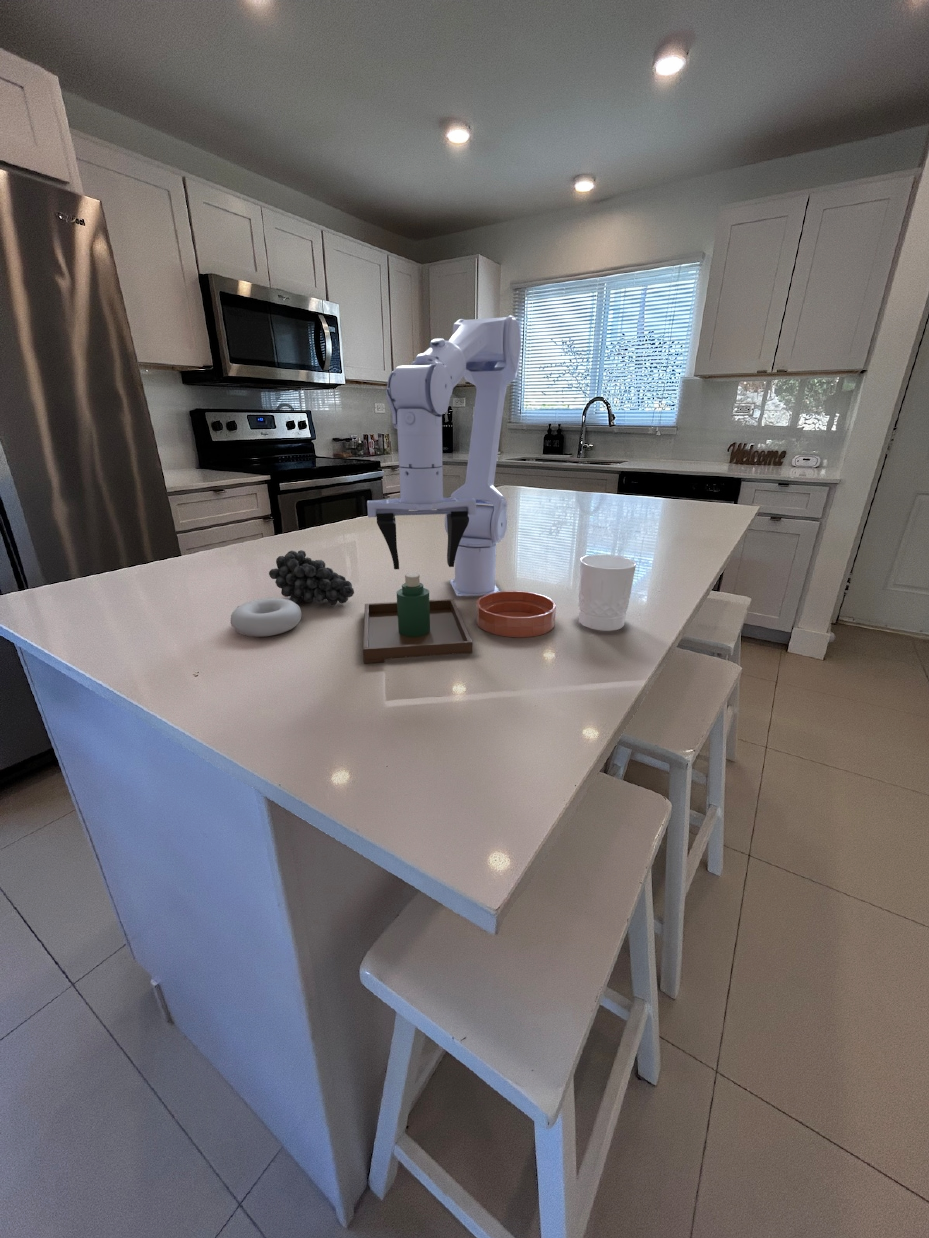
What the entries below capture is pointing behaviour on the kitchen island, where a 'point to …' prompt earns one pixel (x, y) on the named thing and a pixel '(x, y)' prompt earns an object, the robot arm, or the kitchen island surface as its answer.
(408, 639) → the tray
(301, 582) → the fruit
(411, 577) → the bottle
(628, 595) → the white cup
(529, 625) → the bowl
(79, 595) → the kitchen island surface
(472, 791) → the kitchen island surface
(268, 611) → the donut
